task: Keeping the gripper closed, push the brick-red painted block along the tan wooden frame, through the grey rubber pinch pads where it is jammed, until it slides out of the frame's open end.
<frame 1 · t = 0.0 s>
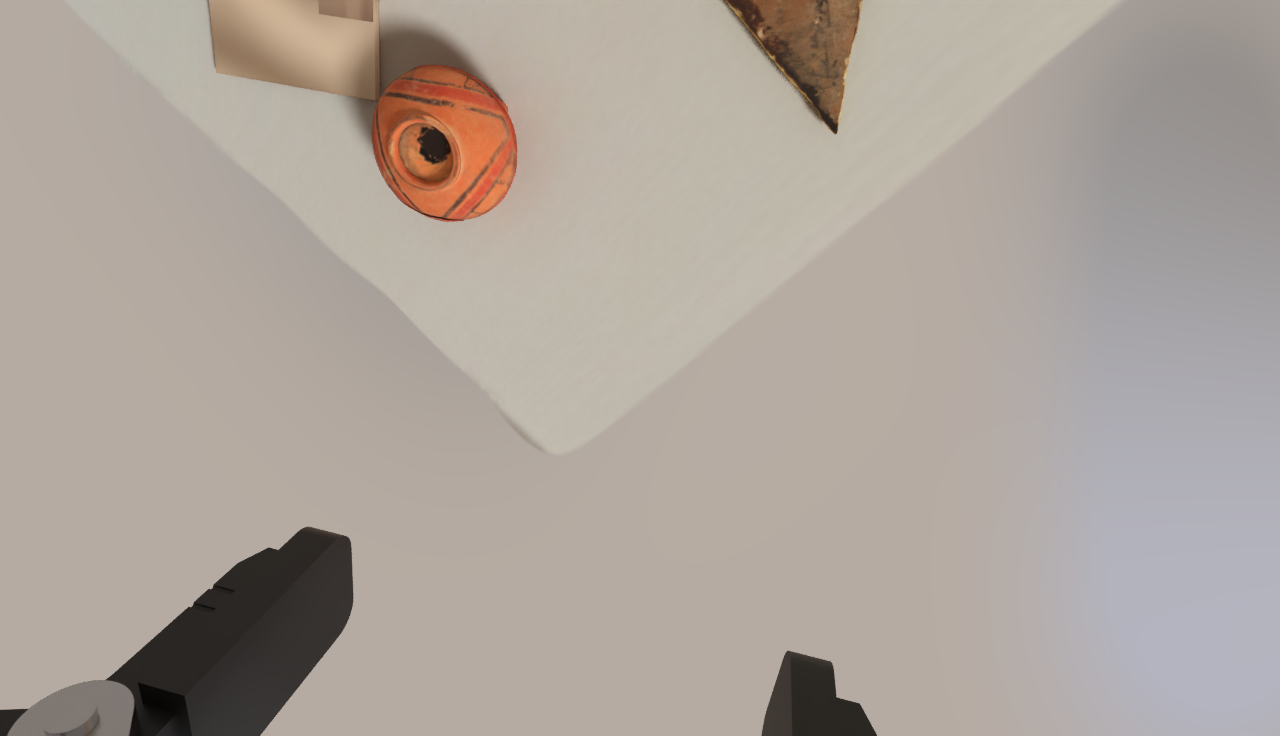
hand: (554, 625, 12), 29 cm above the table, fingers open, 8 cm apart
pot: (470, 141, 39), on the table
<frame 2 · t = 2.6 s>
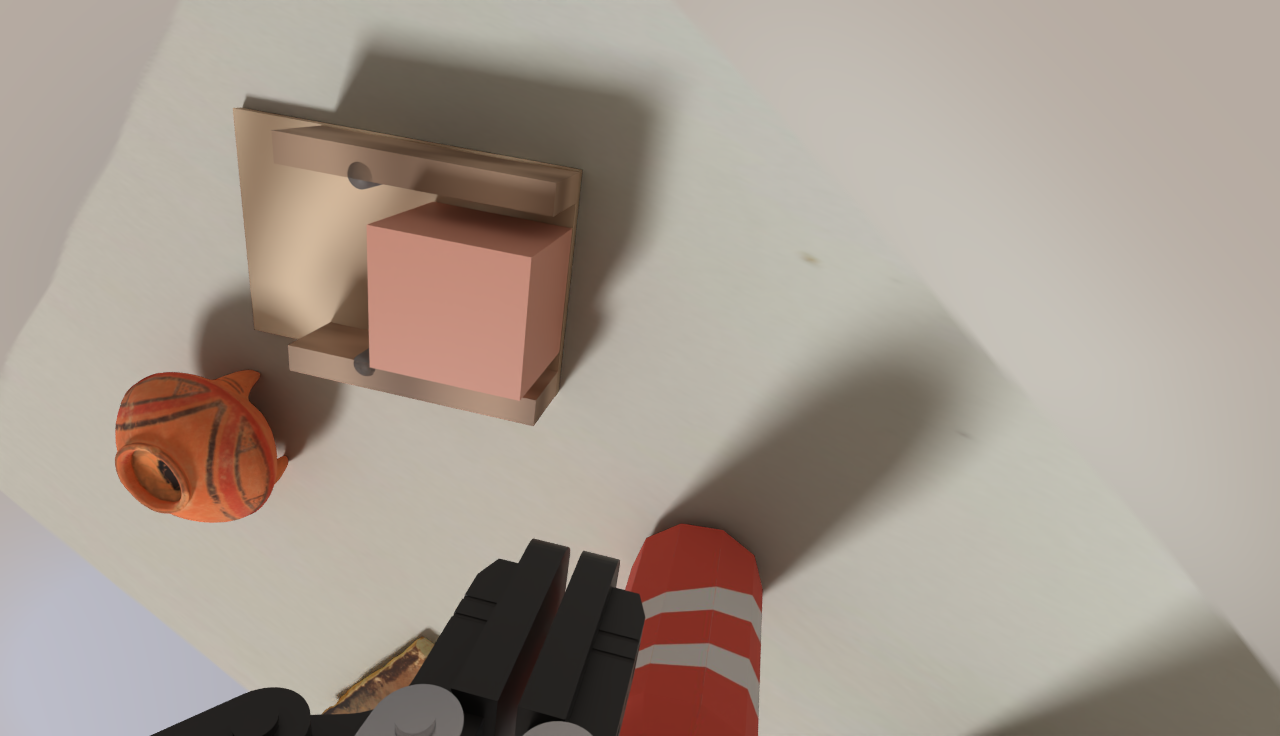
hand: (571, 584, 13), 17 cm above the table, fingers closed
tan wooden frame: (417, 257, 30), on the table
block: (474, 295, 26), point 3 cm above the table, slide at 0.0 cm
beverage can: (698, 566, 34), on the table
shard: (434, 695, 42), on the table
pot: (250, 415, 35), on the table
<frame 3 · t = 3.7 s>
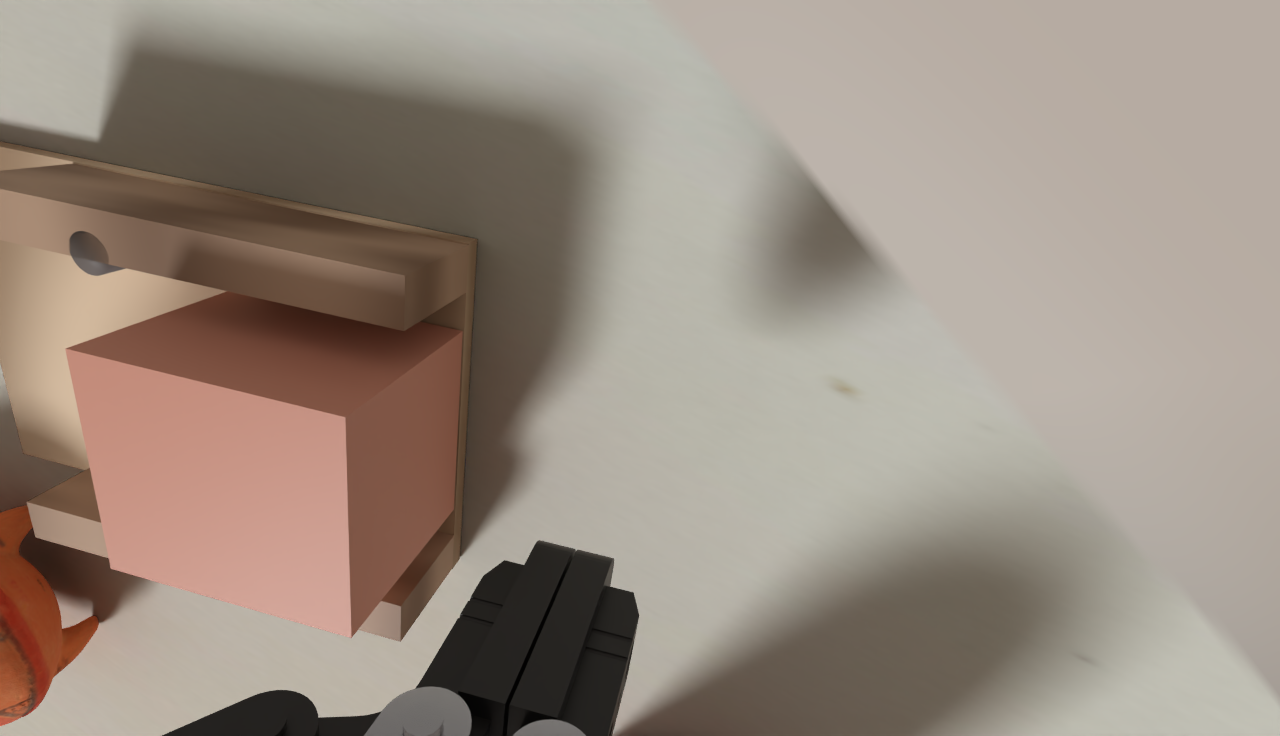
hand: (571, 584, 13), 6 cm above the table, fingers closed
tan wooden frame: (240, 361, 20), on the table
block: (295, 443, 16), point 3 cm above the table, slide at 0.0 cm
pot: (44, 560, 25), on the table
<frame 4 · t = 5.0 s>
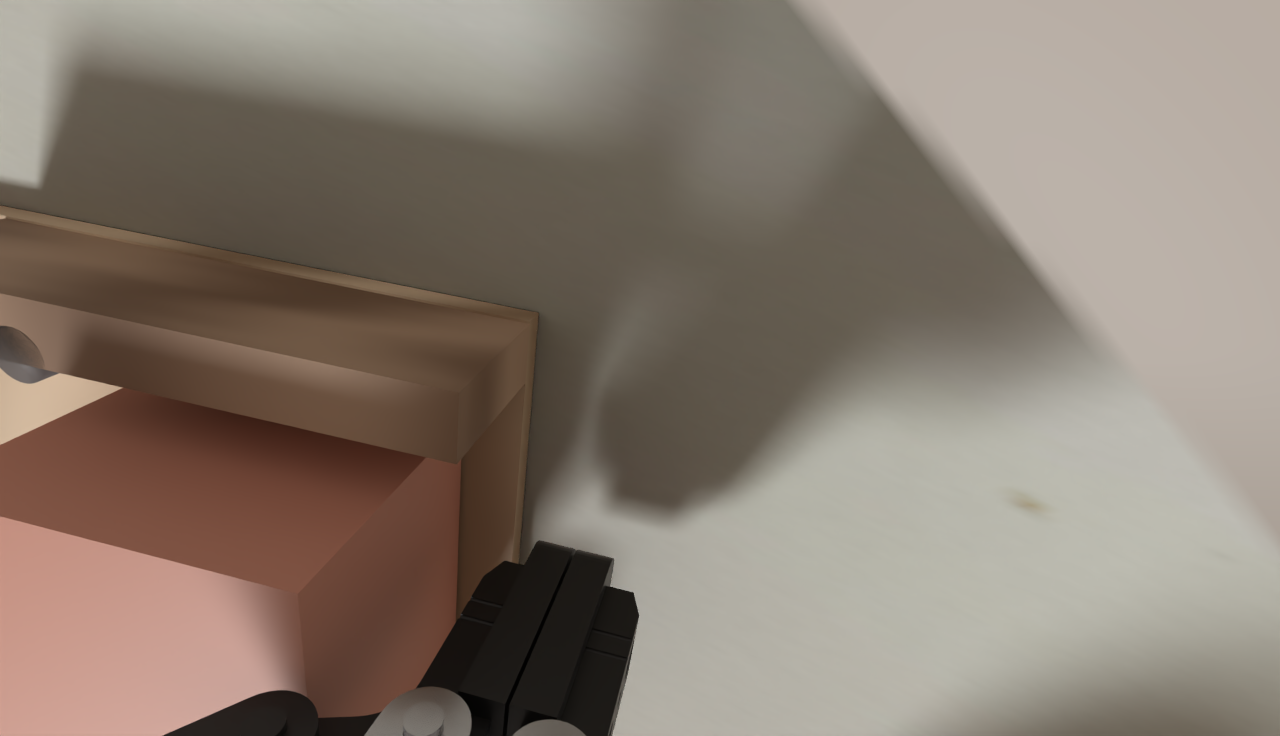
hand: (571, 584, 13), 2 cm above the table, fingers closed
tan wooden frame: (231, 458, 16), on the table
block: (246, 576, 12), point 3 cm above the table, slide at 1.2 cm, touching gripper
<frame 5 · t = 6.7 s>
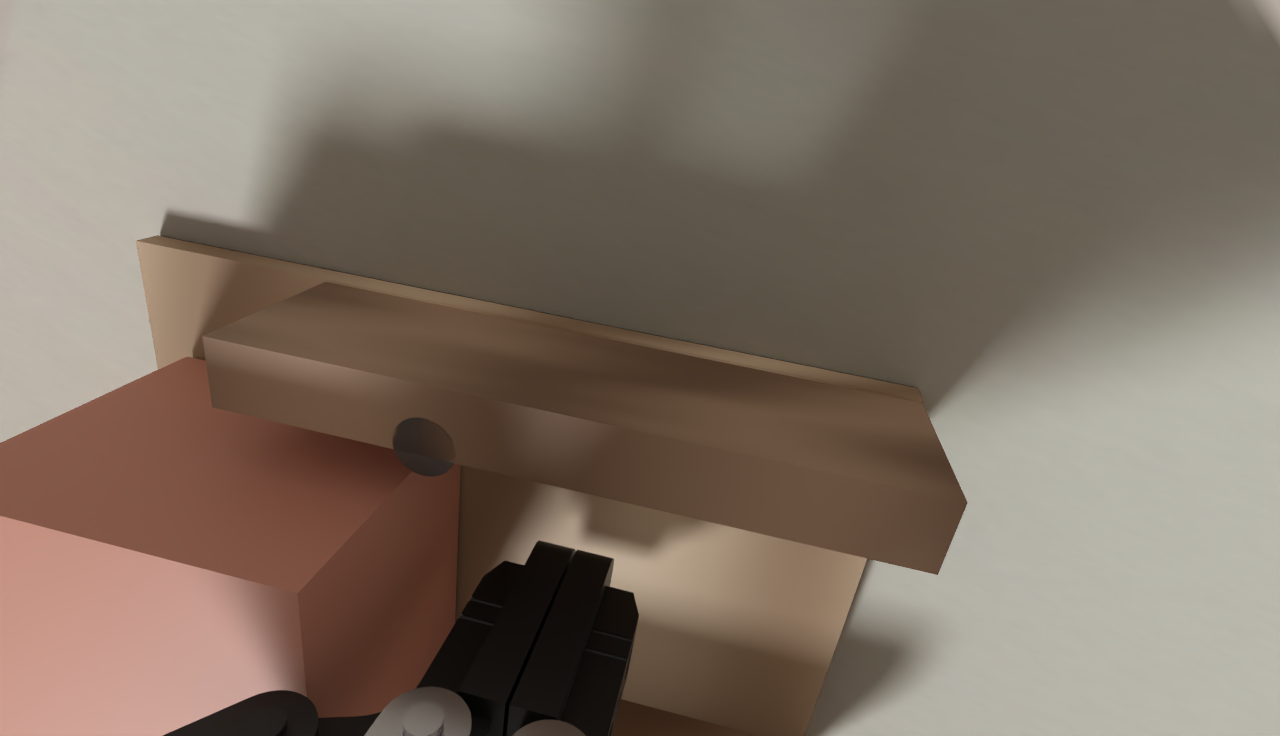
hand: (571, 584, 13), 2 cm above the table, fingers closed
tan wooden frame: (520, 526, 15), on the table
block: (246, 575, 12), point 3 cm above the table, slide at 8.2 cm, touching gripper
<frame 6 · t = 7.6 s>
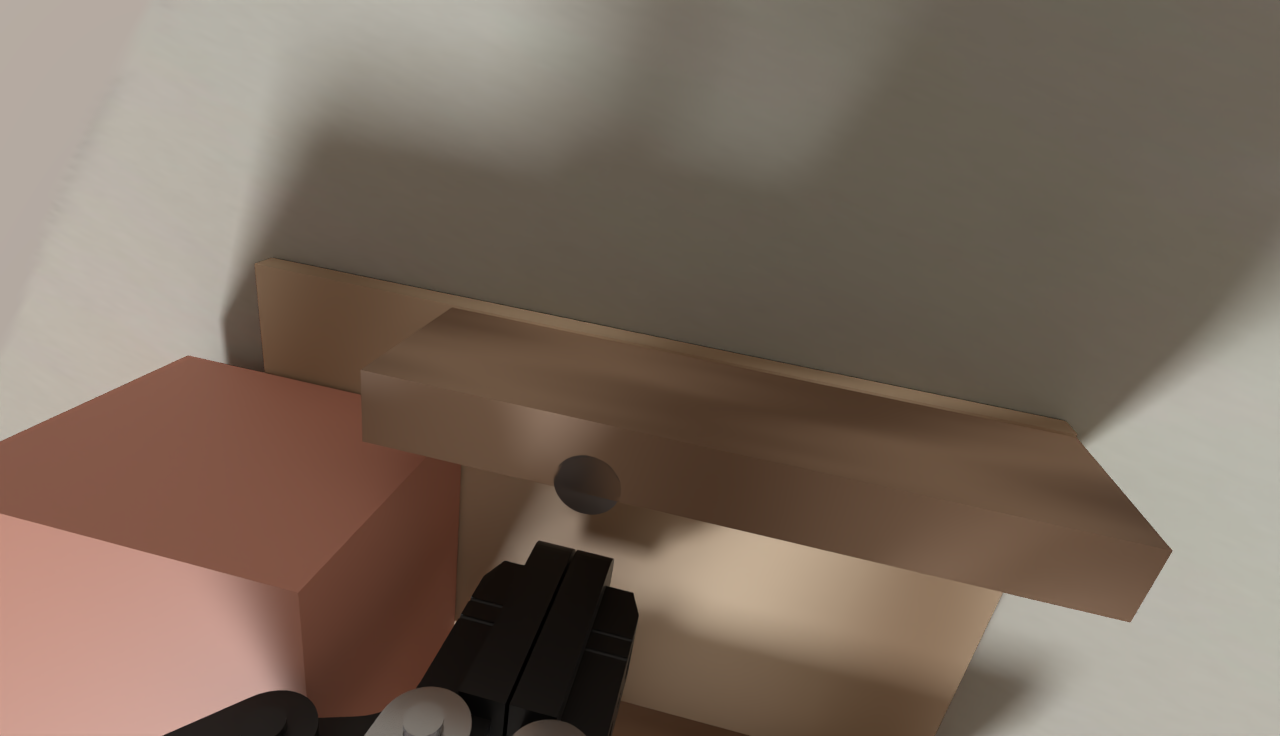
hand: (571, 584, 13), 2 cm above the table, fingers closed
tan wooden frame: (631, 553, 14), on the table
block: (245, 574, 12), point 3 cm above the table, slide at 10.7 cm, touching gripper
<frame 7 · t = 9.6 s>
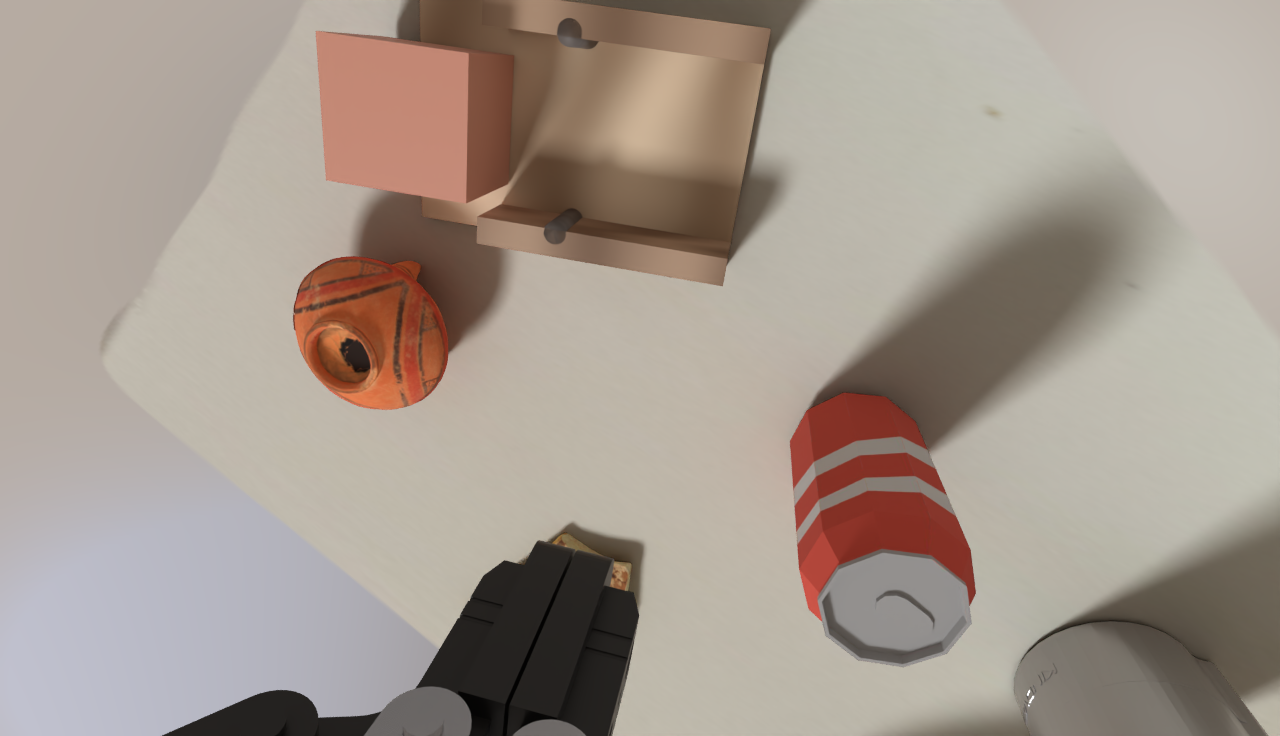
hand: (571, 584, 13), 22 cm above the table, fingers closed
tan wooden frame: (593, 133, 31), on the table
block: (422, 116, 28), point 3 cm above the table, slide at 10.7 cm
beverage can: (852, 439, 35), on the table
shard: (569, 595, 43), on the table
pot: (404, 311, 36), on the table
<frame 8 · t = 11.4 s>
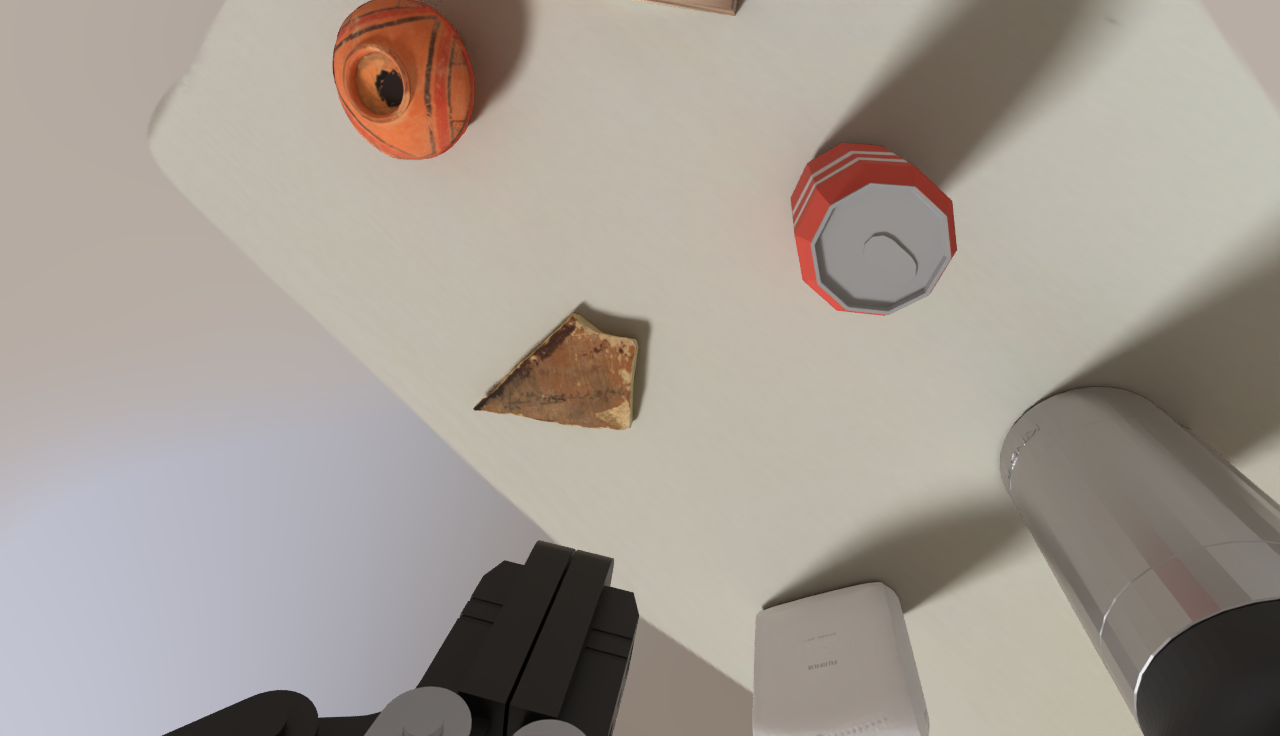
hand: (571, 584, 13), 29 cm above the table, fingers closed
photo printer: (826, 610, 48), on the table
beverage can: (849, 200, 37), on the table
shard: (578, 387, 45), on the table
pot: (434, 81, 39), on the table
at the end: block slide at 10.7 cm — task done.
